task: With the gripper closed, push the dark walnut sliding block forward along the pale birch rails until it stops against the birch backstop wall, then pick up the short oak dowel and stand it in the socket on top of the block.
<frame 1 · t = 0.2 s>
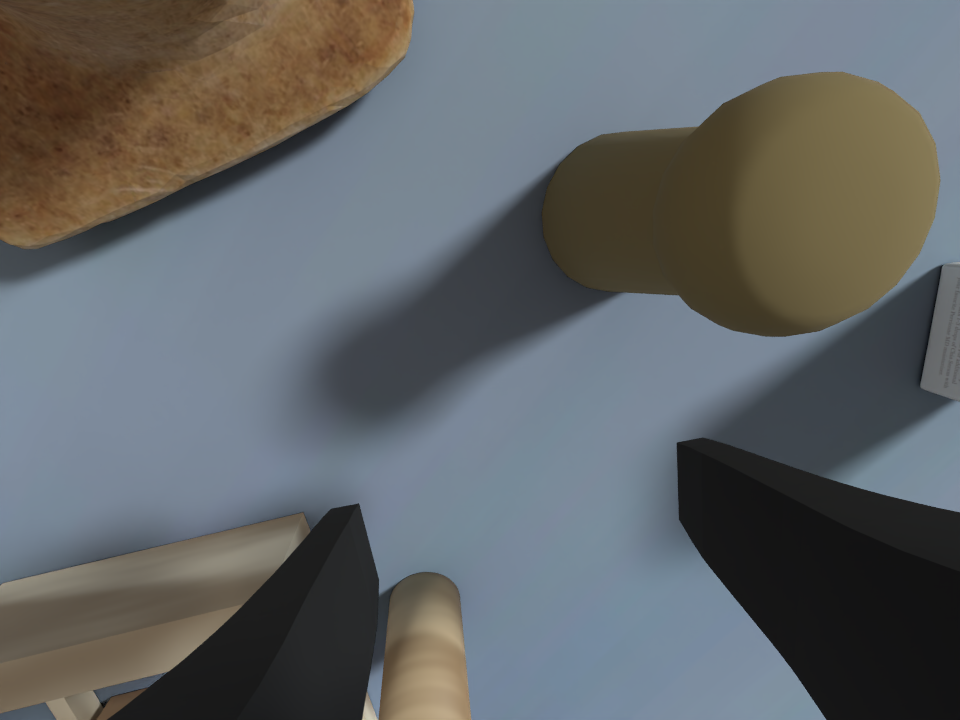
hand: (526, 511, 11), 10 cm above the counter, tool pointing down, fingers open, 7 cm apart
oak dowel: (425, 601, 23), on the counter
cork: (614, 215, 19), on the counter
birch rail and backstop: (208, 655, 23), on the counter
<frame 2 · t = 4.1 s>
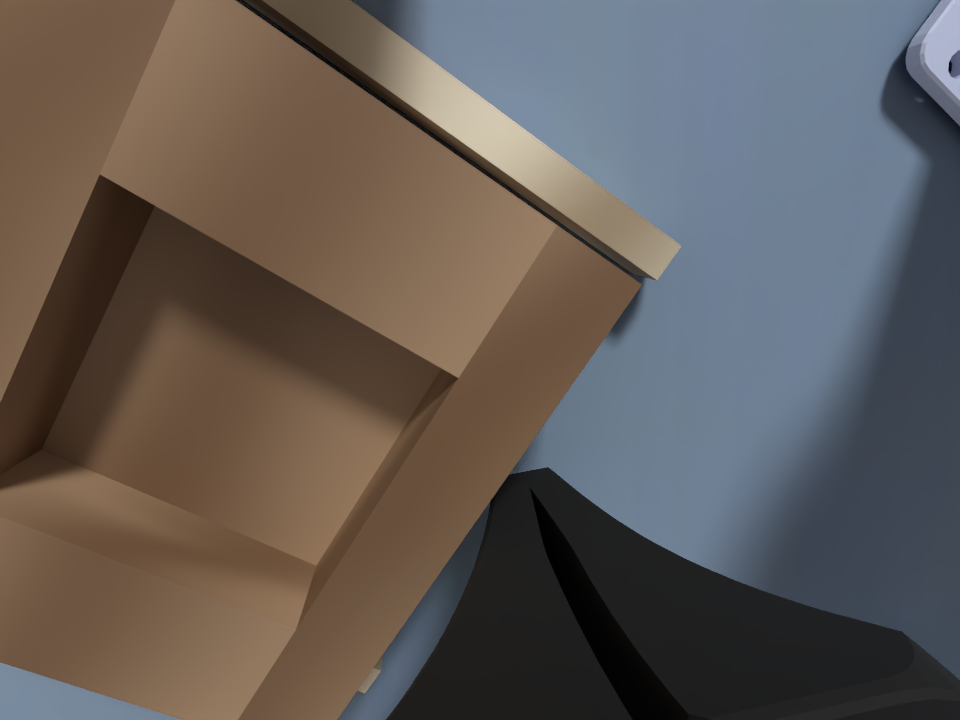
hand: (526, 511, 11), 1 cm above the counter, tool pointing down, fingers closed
walnut block: (260, 389, 9), point 2 cm above the counter, slide at 0.5 cm, touching gripper
birch rail and backstop: (78, 246, 9), on the counter
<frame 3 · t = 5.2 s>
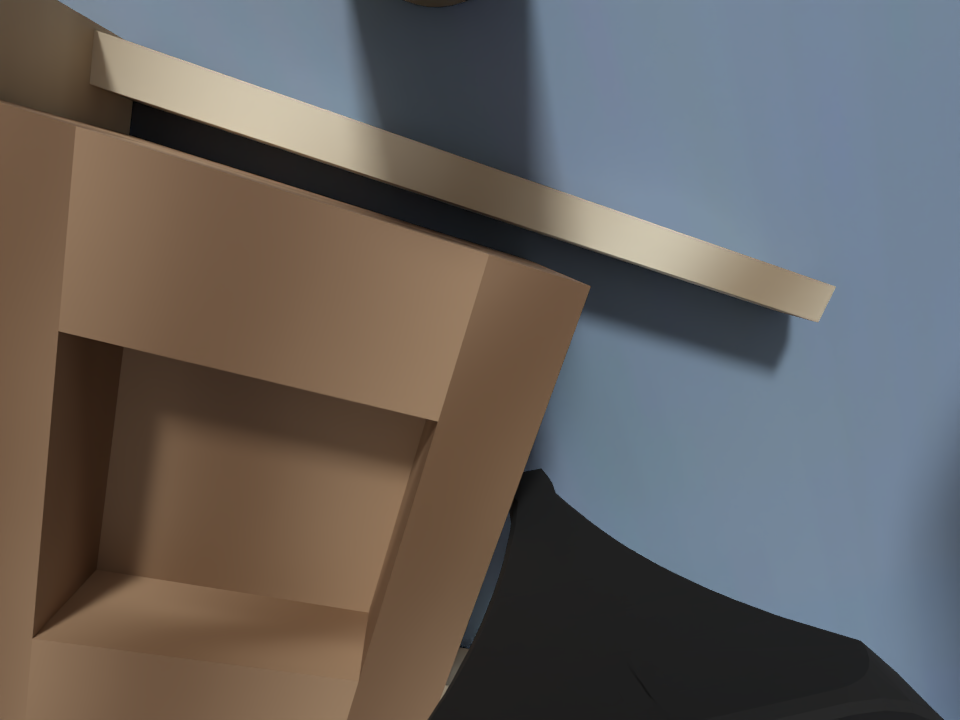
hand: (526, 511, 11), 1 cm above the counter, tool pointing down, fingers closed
walnut block: (271, 465, 9), point 2 cm above the counter, slide at 5.2 cm, touching gripper
birch rail and backstop: (306, 424, 11), on the counter
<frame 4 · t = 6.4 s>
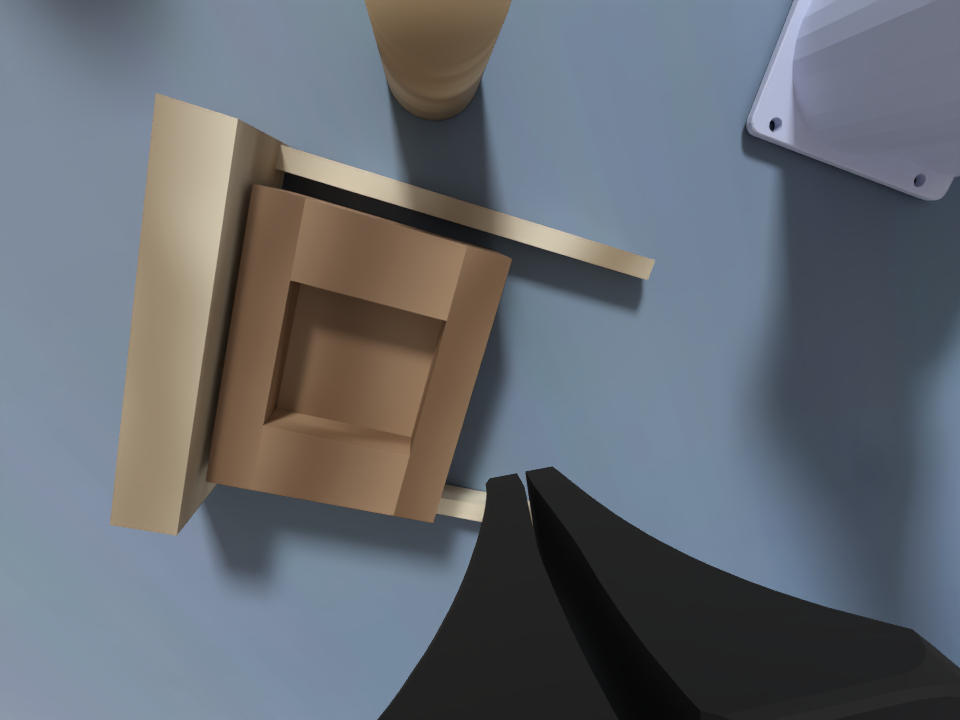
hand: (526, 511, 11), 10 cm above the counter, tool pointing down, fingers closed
oak dowel: (432, 68, 17), on the counter
walnut block: (361, 357, 18), point 2 cm above the counter, slide at 5.0 cm
birch rail and backstop: (368, 343, 20), on the counter
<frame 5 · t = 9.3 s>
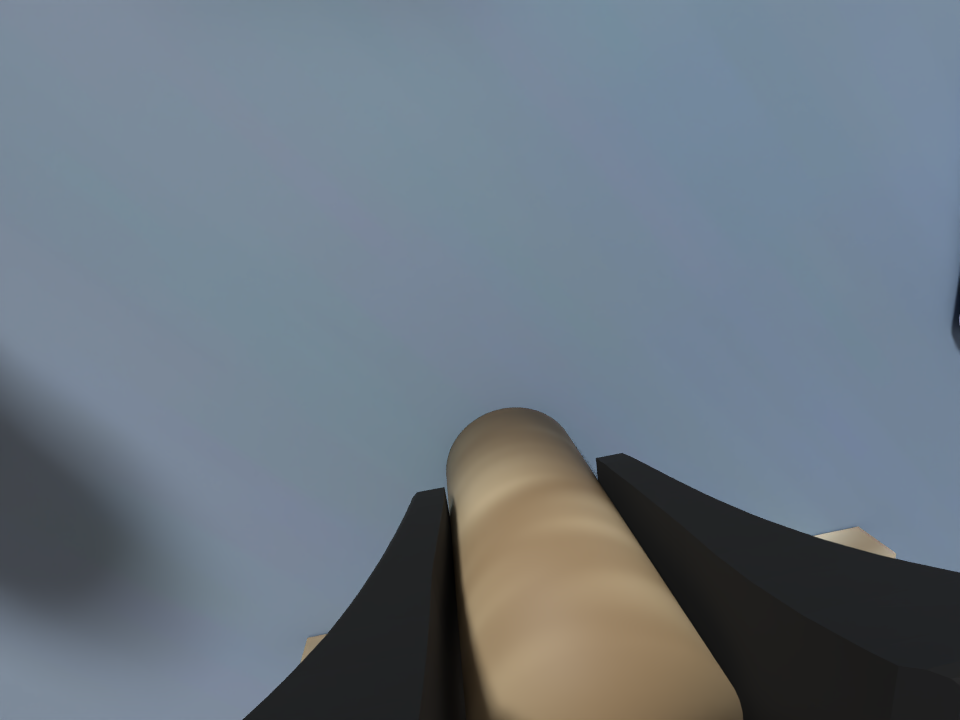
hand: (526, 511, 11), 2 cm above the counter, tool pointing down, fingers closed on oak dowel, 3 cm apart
oak dowel: (511, 468, 12), on the counter, touching gripper
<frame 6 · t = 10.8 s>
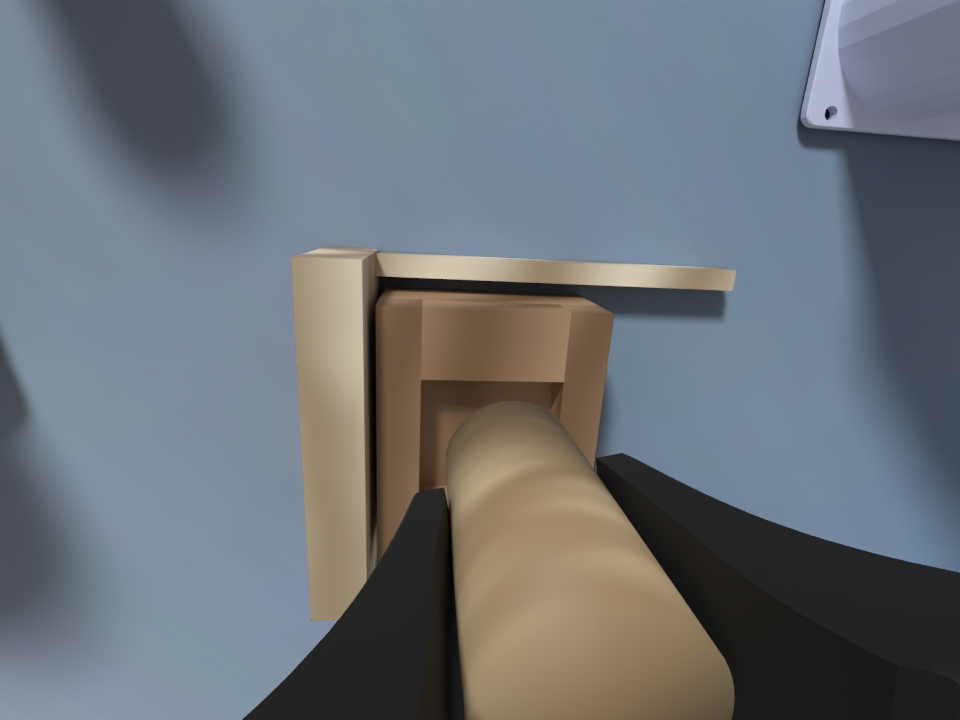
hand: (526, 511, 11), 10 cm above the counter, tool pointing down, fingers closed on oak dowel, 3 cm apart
oak dowel: (509, 461, 13), point 8 cm above the counter, touching gripper
walnut block: (483, 423, 19), point 2 cm above the counter, slide at 5.0 cm
birch rail and backstop: (478, 405, 21), on the counter
when the fingers open (5 cm above the counter, at t = 12.2 s): oak dowel stays where it is, resting on walnut block.
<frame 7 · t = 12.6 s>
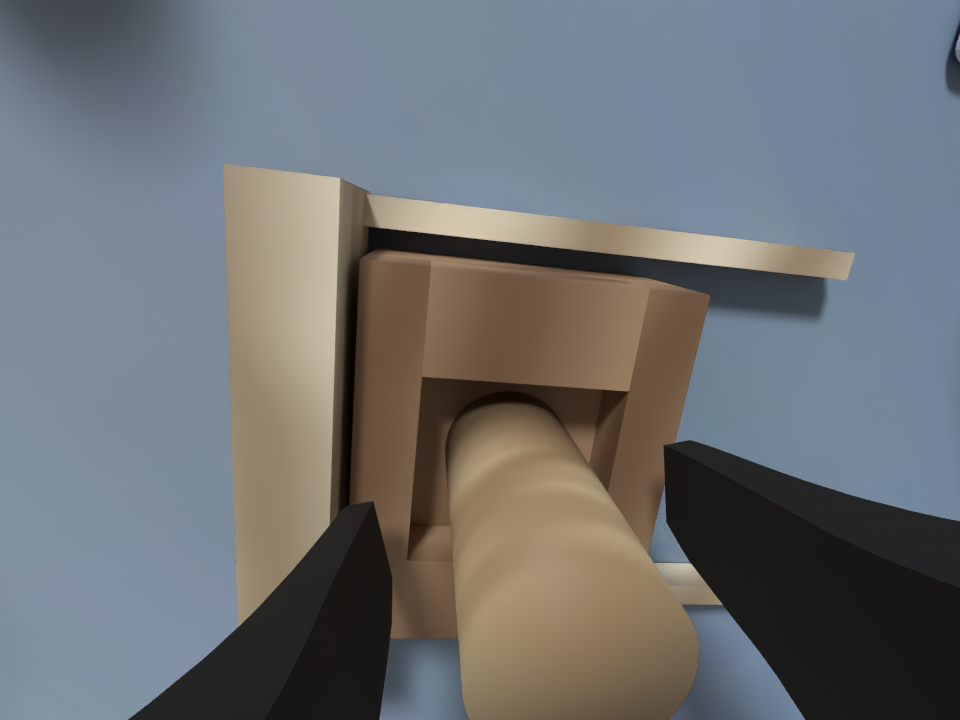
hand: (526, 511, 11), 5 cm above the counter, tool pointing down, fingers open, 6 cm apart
oak dowel: (505, 448, 13), point 3 cm above the counter, touching walnut block
walnut block: (502, 442, 14), point 2 cm above the counter, slide at 5.0 cm, touching oak dowel
birch rail and backstop: (493, 415, 16), on the counter
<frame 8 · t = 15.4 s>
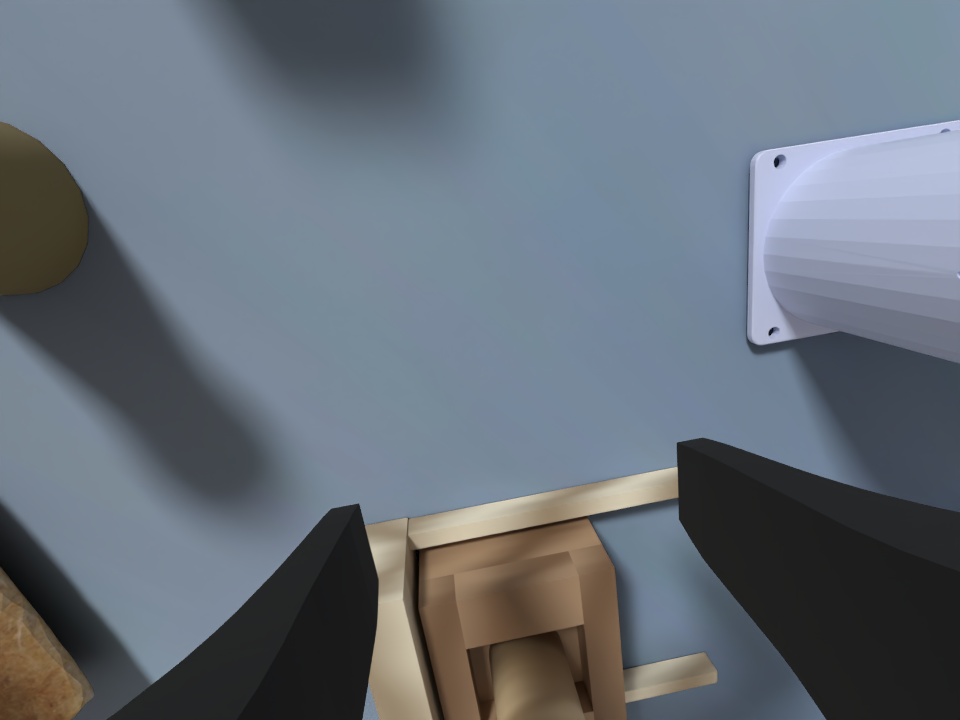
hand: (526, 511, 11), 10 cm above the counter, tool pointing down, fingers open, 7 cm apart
oak dowel: (525, 650, 22), point 3 cm above the counter, touching walnut block
walnut block: (523, 642, 23), point 2 cm above the counter, slide at 5.0 cm, touching oak dowel
birch rail and backstop: (516, 609, 24), on the counter
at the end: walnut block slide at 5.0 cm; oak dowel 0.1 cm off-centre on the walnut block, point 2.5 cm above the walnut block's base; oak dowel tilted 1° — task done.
